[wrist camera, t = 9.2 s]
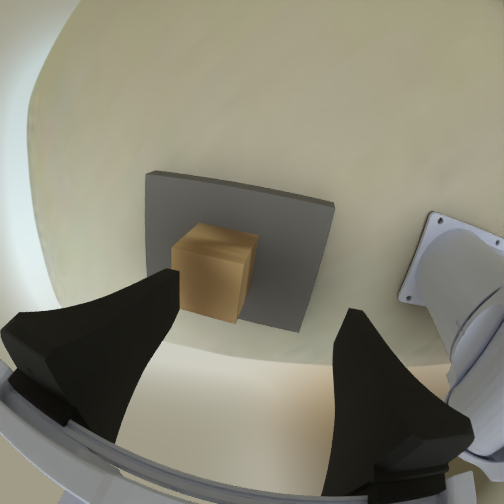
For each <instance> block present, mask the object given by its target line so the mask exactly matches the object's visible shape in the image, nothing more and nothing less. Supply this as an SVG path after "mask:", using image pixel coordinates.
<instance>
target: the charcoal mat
mask: <svg viewBox="0 0 504 504" xmlns="http://www.w3.org/2000/svg"><path fill="white" fill-rule="evenodd" d="M334 211H335V206H334V203H333V202H329V201H325V200H320V199H316V198H312V197H307V196H303V195H298V194H293V193H289V192H284V191H279V190H274V189H269V188H264V187H258V186H253V185H248V184H242V183H236V182H231V181H225V180H218V179H212V178H206V177H199V176H192V175H185V174H178V173H171V172H163V171H153V172H150V173H147V174H146V179H145V242H146V265H147V277H149V276H151V275H153V274H155V273H157V272H159V271H161V270H163V269H166V268H169V269H172V266H171V249H172V247H173V246H174V245H175V244H176V243H177V242H178V241H179V240H180V239H181V238H182V237H184V236H185V235H186V234H187V233H188V232H189V231H190V230H191V229H193V228H194V227H195V226H196V225H197V224H198V223H203V224H208V225H213V226H218V227H223V228H227V229H232V230H237V231H242V232H247V233H251V234H256V235H259V236H258V242H257V248H256V255H255V261H254V267H253V273H252V279H251V285H250V289H249V292H248V294H247V297H246V299H245V301H244V304H243V306H242V309H241V311H240V314H239V316H238V319H242V320H246V321H250V322H254V323H258V324H262V325H267V326H271V327H275V328H280V329H284V330H289V331H293V332H298V333H299V330H300V327H301V324H302V321H303V318H304V315H305V312H306V309H307V306H308V303H309V300H310V297H311V293H312V290H313V287H314V284H315V280H316V277H317V274H318V270H319V267H320V263H321V260H322V256H323V253H324V249H325V245H326V242H327V238H328V234H329V231H330V227H331V223H332V219H333V215H334Z"/></svg>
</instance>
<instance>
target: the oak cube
mask: <svg viewBox="0 0 504 504" xmlns="http://www.w3.org/2000/svg"><path fill="white" fill-rule="evenodd" d="M258 236H259V235H256V234H251V233H247V232H242V231H237V230H232V229H227V228H223V227H218V226H213V225H208V224H203V223H198V224H197V225H196V226H195V227H194V228H193V229H191V230H190V231H189V232H188V233H187V234H186V235H185V236H184V237H182V238H181V239H180V240H179V241H178V242H177V243H176V244H175V245H174V246H173V247H172V249H171V266H172V269H173V270H177V271H180V309H183V310H187V311H190V312H194V313H197V314H201V315H204V316H208V317H211V318H215V319H219V320H223V321H226V322H230V323H234V324H236V321H237V319H238V316H239V314H240V311H241V309H242V306H243V304H244V301H245V299H246V297H247V294H248V292H249V289H250V285H251V279H252V273H253V267H254V261H255V255H256V248H257V242H258Z"/></svg>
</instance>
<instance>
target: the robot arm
mask: <svg viewBox="0 0 504 504" xmlns="http://www.w3.org/2000/svg"><path fill="white" fill-rule="evenodd" d="M439 218H441V221H440V222H439V223H438V219H439ZM497 240H498V241H497ZM496 241H497V243H496ZM408 296H410V298H407V297H408ZM398 299H399V301H401V302H404V303H409V304H414V305H419V306H424V307H427V309H428V311H429V313H430V315H431V317H432V319H433V322H434V324H435V326H436V328H437V330H438V333H439V335H440V337H441V339H442V342H443V344H444V346H445V349H446V351H447V354H448V356H449V359H450V361H451V368H450V370H449V372H448V373H447V375H446V376H447V379H448V382H449V385H450V388H451V390H450V391H449V392H448V393H447V394H446V396H445V397H444V399H443V401H442V400H440V399H439V398H438V397H437V396H435V395H434V394H433V393H432V392H430V391H429V390H428V389H427V388H426V387H425V386H424V385H423V384H421V383H420V382H419V381H418V380H417V379H416V378H415V377H414V376H413V375H412V374H411V372H410V371H409V370H408V369H407V368H406V367H405V366H404V365H403V364H402V363H401V361H400V360H399V359H398V358H397V357H396V355H395V354H394V353H393V352H392V350H391V349H390V348H389V346H388V345H387V344H386V342H385V341H384V340H383V338H382V337H381V335H380V334H379V333H378V331H377V330H376V328H375V327H374V326H373V324H372V323H371V321H370V320H369V318H368V317H367V316H366V314H365V313H364V312H363V311H362V310H357V309H352V308H349V309H348V312H347V314H346V316H345V319H344V321H343V323H342V326H341V328H340V330H339V333H338V335H337V337H336V339H335V341H334V346H333V379H334V396H335V422H334V432H333V440H332V448H331V454H330V460H329V465H328V471H327V475H326V479H325V483H324V487H323V491H322V494H321V496H303V495H302V496H301V495H291V494H280V493H273V492H265V491H259V490H253V489H248V488H242V487H237V486H232V485H228V484H223V483H219V482H215V481H211V480H208V479H204V478H200V477H197V476H194V475H190V474H187V473H184V472H181V471H178V470H175V469H172V468H169V467H167V466H164V465H161V464H159V463H156V462H153V461H151V460H148V459H146V458H143V457H141V456H139V455H137V454H134V453H132V452H130V451H128V450H126V449H123V448H121V447H119V446H117V445H115V442H116V438H117V435H118V432H119V429H120V426H121V422H122V420H123V417H124V414H125V412H126V409H127V407H128V404H129V402H130V399H131V397H132V395H133V392H134V390H135V388H136V386H137V383H138V381H139V379H140V377H141V375H142V373H143V371H144V369H145V367H146V366H147V364H148V362H149V361H150V359H151V358H152V356H153V354H154V353H155V351H156V350H157V348H158V347H159V345H160V344H161V342H162V341H163V339H164V338H165V336H166V335H167V333H168V332H169V330H170V328H171V327H172V325H173V323H174V321H175V318H176V316H177V314H178V312H179V310H180V271H177V270H173V269H169V268H166V269H163V270H161V271H159V272H157V273H155V274H153V275H151V276H149V277H147V278H145V279H143V280H141V281H139V282H137V283H135V284H133V285H131V286H128V287H126V288H124V289H121V290H119V291H117V292H115V293H112V294H110V295H107V296H105V297H102V298H99V299H96V300H93V301H90V302H87V303H83V304H79V305H75V306H71V307H67V308H61V309H56V310H49V311H38V312H19V313H18V314H17V315H16V316H15V317H14V318H13V319H12V320H10V321H9V322H8V323H7V324H6V325H5V326H4V327H3V328H2V329H1V332H0V333H1V338H2V341H3V344H4V346H5V348H6V349H7V351H8V353H9V355H10V356H11V358H12V360H13V362H14V363H15V365H16V367H17V369H16V370H15V371H14V372H13V371H12V370H11V369H10V368H9V366H7V365H6V364H5V363H4V362H3V361H2V360H1V359H0V434H1V435H2V436H3V437H4V438H5V439H6V440H7V441H8V442H9V443H10V444H11V445H12V446H13V447H14V448H15V449H16V450H17V451H18V452H19V453H21V454H22V455H23V456H24V457H25V458H26V459H27V460H28V461H29V462H31V463H32V464H33V465H34V466H35V467H36V468H38V469H39V470H40V471H41V472H42V473H44V474H45V475H46V476H47V477H49V478H50V479H51V480H53V481H54V482H55V483H57V484H58V485H59V486H61V487H62V488H64V489H65V491H64V493H63V495H62V497H61V498H60V501H59V502H58V504H198V503H194V502H191V501H187V500H184V499H181V498H178V497H175V496H172V495H169V494H166V493H163V492H160V491H158V490H155V489H152V488H150V487H147V486H145V485H143V484H140V483H138V482H135V481H133V480H131V479H128V478H126V477H124V476H123V475H122V474H121V473H120V471H119V469H117V468H115V467H114V466H116V467H118V468H120V469H122V470H124V471H126V472H128V473H131V474H133V475H135V476H137V477H139V478H142V479H144V480H147V481H149V482H152V483H154V484H157V485H159V486H162V487H164V488H167V489H171V490H173V491H176V492H179V493H182V494H186V495H188V496H192V497H195V498H199V499H202V500H206V501H210V502H214V503H218V504H477V500H476V492H475V485H474V479H473V472H472V471H468V472H465V473H461V474H458V475H454V476H451V477H449V478H447V479H445V475H444V473H446V472H448V470H449V467H448V462H450V461H451V460H453V459H454V458H456V457H457V456H459V457H460V458H462V459H463V460H465V461H468V462H470V463H472V464H475V465H476V466H478V467H479V468H480V469H482V470H483V471H484V473H485V474H486V475H487V476H488V478H489V479H490V480H491V481H494V482H504V238H501V237H499V236H497V235H494V234H492V233H490V232H487V231H485V230H483V229H480V228H478V227H475V226H473V225H470V224H468V223H465V222H462V221H460V220H457V219H454V218H452V217H449V216H446V215H443V214H440V213H438V212H431V213H430V214H429V217H428V220H427V223H426V226H425V229H424V232H423V234H422V237H421V240H420V243H419V245H418V248H417V251H416V253H415V256H414V259H413V261H412V264H411V266H410V268H409V271H408V273H407V276H406V278H405V280H404V283H403V285H402V287H401V289H400V292H399V294H398ZM107 462H108V463H107ZM109 463H110V464H112V465H114V466H112V465H110V464H109Z"/></svg>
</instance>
